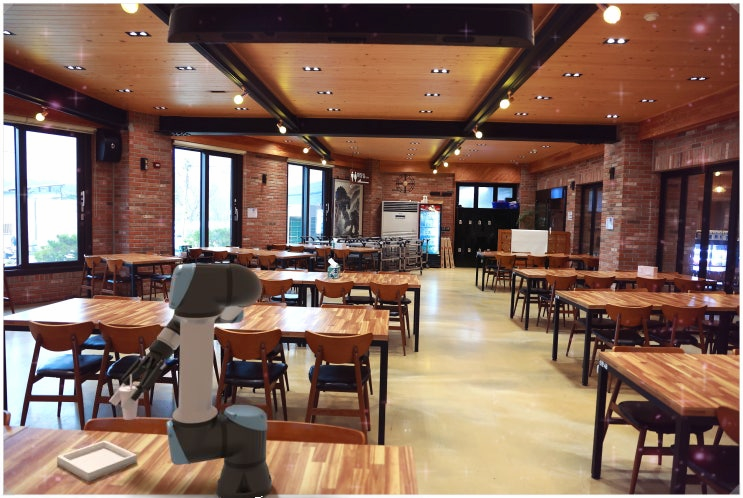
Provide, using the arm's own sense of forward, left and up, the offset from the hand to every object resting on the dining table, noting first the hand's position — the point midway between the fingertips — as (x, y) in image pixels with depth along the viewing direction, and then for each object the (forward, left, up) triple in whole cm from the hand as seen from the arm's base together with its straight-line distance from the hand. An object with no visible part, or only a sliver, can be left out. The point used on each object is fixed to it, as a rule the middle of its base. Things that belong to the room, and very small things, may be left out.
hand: (118, 405), depth 160 cm
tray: (+3, +5, -17) cm, 18 cm away
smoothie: (0, -4, -5) cm, 6 cm away
